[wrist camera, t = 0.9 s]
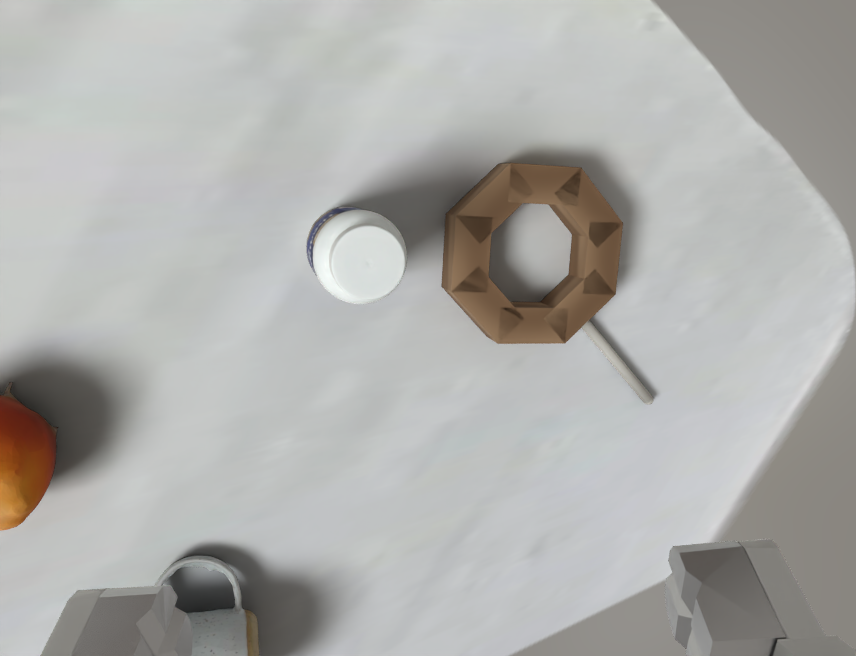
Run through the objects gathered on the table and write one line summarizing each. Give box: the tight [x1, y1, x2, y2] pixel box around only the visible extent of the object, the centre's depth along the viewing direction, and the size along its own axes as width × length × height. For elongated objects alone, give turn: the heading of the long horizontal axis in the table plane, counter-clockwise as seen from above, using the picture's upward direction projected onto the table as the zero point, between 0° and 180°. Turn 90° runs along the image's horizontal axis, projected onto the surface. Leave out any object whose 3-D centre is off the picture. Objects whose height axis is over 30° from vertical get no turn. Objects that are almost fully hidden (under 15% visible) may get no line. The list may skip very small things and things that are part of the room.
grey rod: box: [581, 320, 653, 405], centre depth 51 cm, size 10×1×1 cm, turn 42°
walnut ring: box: [442, 163, 623, 344], centre depth 47 cm, size 12×12×2 cm
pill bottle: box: [306, 207, 407, 304], centre depth 40 cm, size 5×5×10 cm
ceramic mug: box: [155, 556, 259, 656], centre depth 44 cm, size 11×8×8 cm
